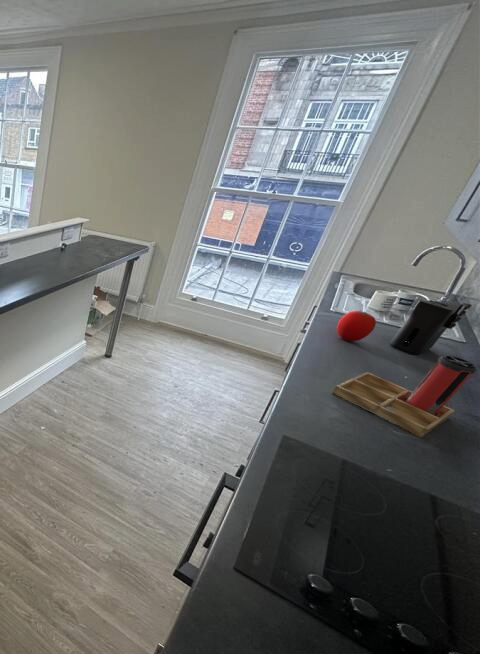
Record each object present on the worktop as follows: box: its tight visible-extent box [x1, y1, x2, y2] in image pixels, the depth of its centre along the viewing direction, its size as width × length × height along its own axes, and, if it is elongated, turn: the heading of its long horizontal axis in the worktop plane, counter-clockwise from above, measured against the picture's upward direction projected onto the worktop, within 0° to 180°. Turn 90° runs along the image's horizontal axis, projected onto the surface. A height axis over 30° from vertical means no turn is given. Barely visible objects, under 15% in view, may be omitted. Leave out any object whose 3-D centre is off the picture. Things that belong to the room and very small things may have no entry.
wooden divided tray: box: [331, 371, 456, 439], centre depth 126 cm, size 22×22×3 cm
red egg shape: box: [336, 310, 377, 342], centre depth 165 cm, size 11×11×13 cm
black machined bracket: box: [389, 299, 473, 356], centre depth 161 cm, size 12×21×22 cm, turn 119°
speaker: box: [403, 355, 477, 416], centre depth 120 cm, size 8×8×18 cm
